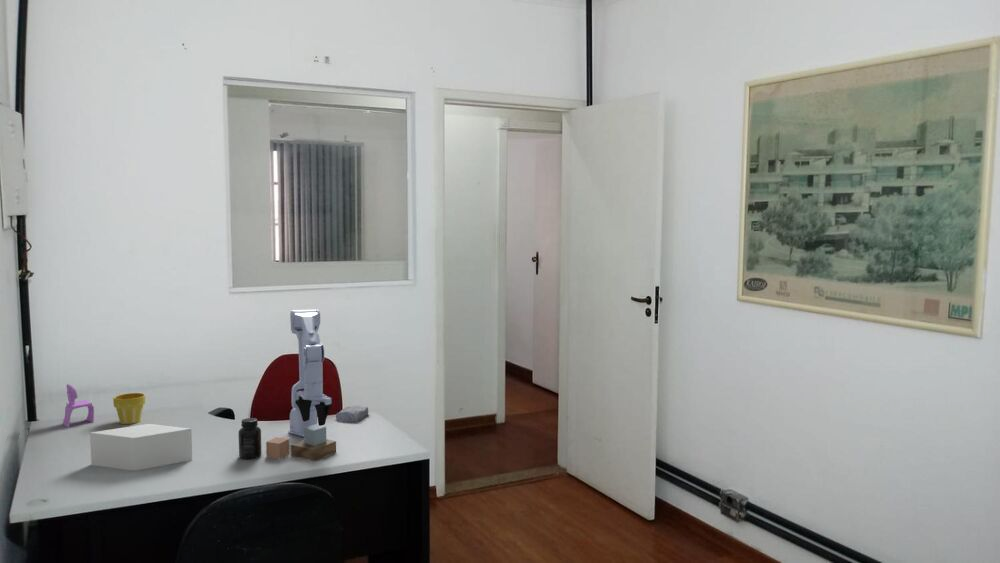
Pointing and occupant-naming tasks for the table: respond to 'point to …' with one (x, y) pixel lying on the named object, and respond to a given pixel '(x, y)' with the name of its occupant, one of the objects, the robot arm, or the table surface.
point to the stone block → (352, 414)
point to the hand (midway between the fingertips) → (313, 422)
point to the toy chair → (76, 406)
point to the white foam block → (141, 446)
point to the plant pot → (129, 407)
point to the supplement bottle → (249, 439)
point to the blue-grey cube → (315, 434)
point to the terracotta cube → (277, 447)
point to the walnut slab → (313, 450)
